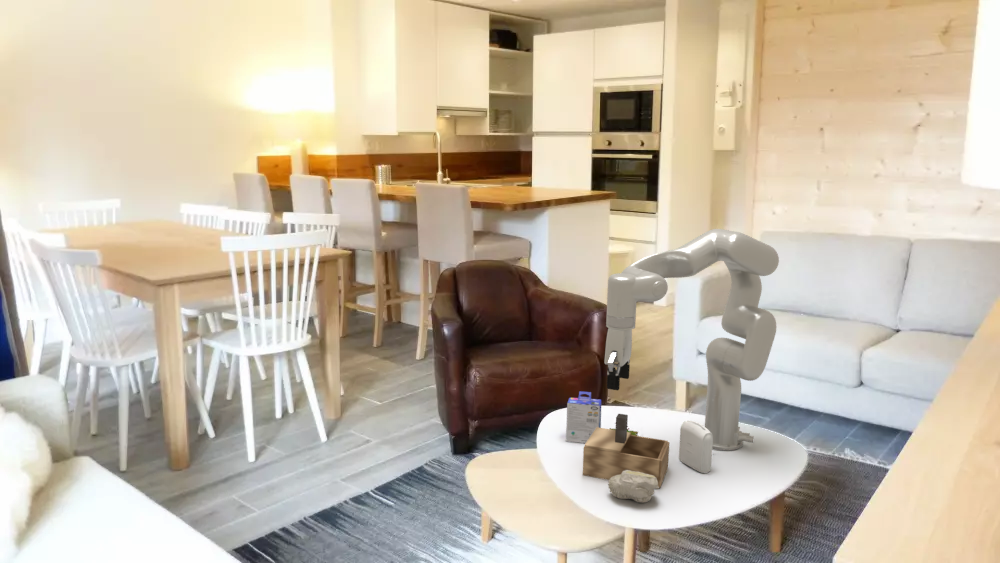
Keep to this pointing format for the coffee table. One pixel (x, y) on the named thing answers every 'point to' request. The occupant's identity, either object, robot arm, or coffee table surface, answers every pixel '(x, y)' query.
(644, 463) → the open wooden box
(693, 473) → the coffee table surface
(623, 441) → the flap
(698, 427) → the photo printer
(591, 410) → the ink cartridge box
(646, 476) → the fossil replica
